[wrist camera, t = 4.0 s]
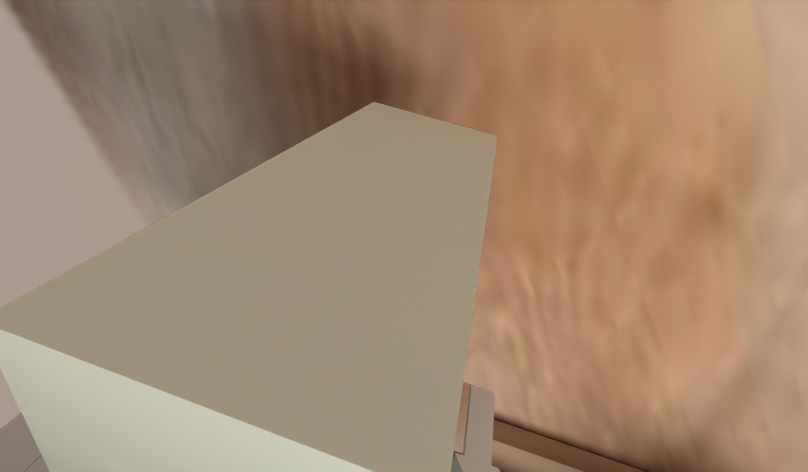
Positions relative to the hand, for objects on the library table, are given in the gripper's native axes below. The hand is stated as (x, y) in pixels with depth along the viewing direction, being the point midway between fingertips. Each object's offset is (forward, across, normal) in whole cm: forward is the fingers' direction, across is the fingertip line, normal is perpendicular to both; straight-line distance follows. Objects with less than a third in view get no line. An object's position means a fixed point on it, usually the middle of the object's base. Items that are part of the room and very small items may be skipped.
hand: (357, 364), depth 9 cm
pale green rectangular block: (+3, 0, 0) cm, 3 cm away
